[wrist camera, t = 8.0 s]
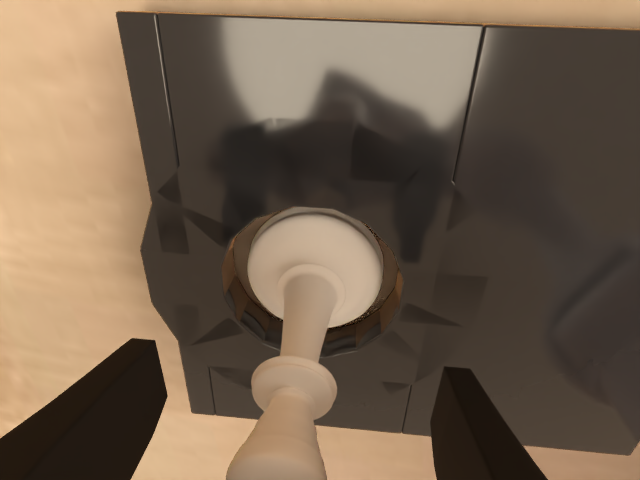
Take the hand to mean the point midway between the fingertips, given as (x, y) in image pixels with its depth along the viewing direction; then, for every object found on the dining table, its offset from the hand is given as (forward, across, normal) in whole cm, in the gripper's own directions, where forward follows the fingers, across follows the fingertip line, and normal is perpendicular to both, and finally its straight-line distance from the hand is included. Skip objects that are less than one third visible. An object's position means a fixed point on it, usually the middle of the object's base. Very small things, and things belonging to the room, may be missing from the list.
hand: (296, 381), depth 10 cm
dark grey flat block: (+5, -4, 0) cm, 7 cm away
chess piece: (+6, 0, 0) cm, 6 cm away
